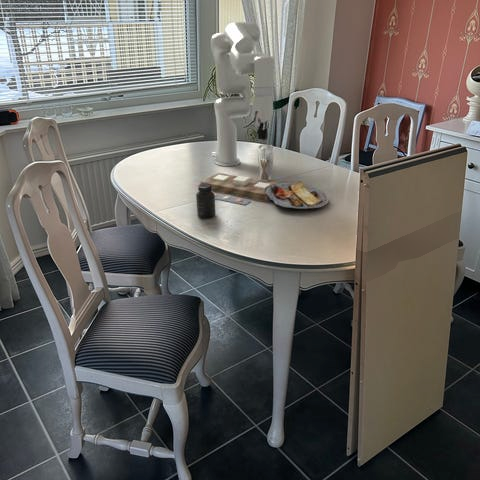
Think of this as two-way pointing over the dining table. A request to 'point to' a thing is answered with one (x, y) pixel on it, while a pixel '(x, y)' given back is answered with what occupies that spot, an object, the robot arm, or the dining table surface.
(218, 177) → the left button
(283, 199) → the food plate
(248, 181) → the middle button
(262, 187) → the right button
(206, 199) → the supplement bottle
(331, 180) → the dining table surface
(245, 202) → the pattern card
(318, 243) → the dining table surface
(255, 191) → the button board
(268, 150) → the beer glass
